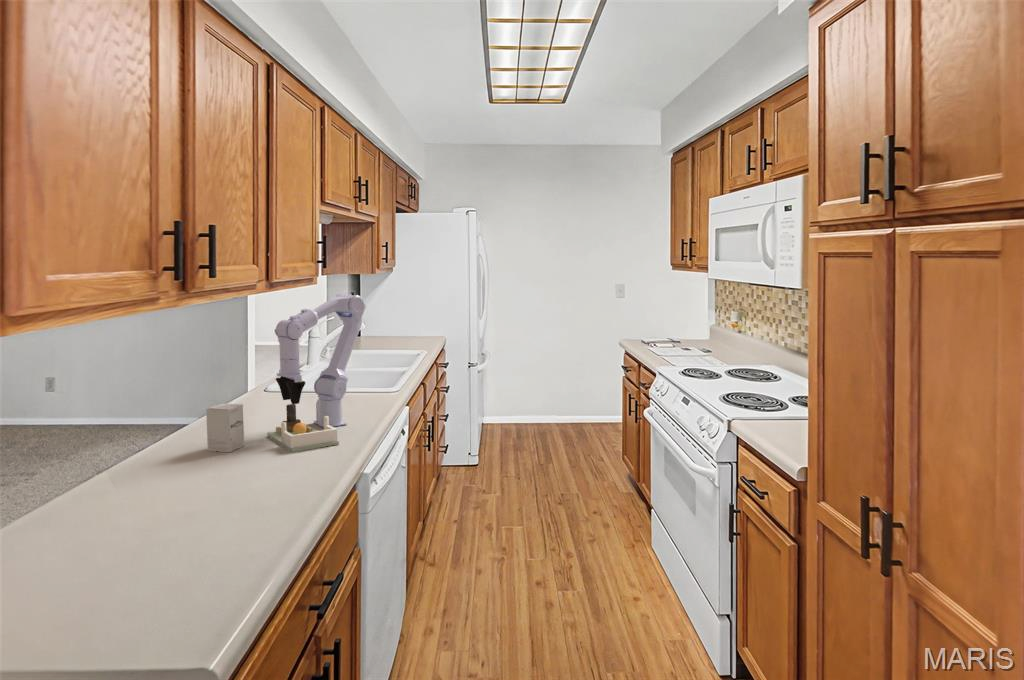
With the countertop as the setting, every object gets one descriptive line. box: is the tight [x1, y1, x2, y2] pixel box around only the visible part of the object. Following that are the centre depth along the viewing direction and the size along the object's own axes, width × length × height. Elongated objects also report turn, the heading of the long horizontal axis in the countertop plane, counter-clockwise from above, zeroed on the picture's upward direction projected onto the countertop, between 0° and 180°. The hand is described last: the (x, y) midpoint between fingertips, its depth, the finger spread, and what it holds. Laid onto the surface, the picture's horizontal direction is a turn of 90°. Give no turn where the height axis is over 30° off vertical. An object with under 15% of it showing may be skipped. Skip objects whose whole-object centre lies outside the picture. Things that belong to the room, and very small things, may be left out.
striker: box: [282, 403, 302, 432], centre depth 214 cm, size 3×5×8 cm, turn 127°
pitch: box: [267, 416, 340, 453], centre depth 207 cm, size 22×14×7 cm, turn 37°
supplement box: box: [205, 403, 245, 453], centre depth 198 cm, size 7×7×13 cm
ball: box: [293, 422, 307, 435], centre depth 209 cm, size 4×4×4 cm
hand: (291, 401), depth 214 cm, fingers open, 7 cm apart
